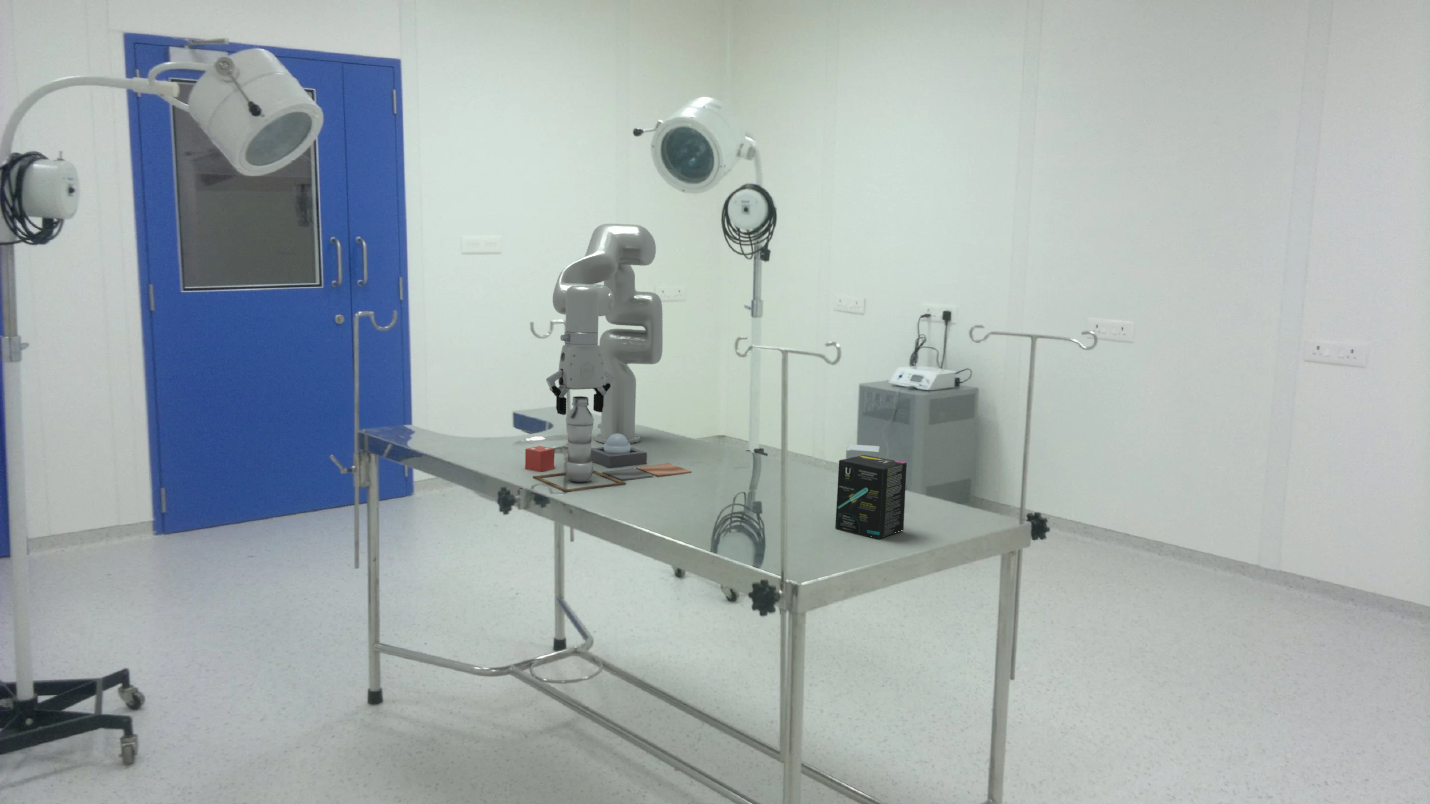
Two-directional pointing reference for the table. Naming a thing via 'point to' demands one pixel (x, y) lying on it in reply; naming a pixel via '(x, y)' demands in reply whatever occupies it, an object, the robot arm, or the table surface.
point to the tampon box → (871, 496)
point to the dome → (617, 444)
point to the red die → (539, 458)
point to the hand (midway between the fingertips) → (580, 412)
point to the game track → (622, 475)
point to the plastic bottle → (579, 441)
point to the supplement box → (862, 450)
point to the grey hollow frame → (618, 458)
